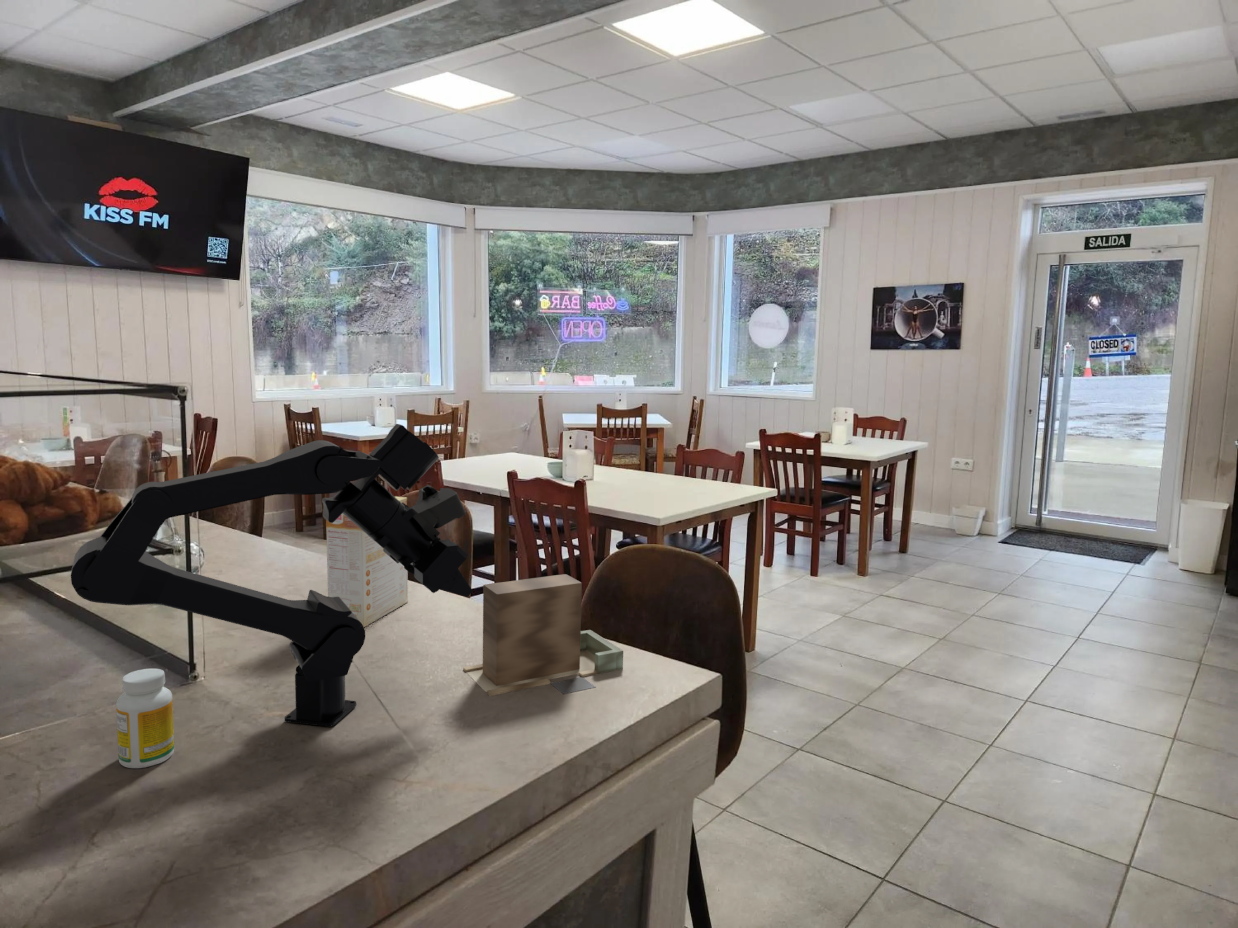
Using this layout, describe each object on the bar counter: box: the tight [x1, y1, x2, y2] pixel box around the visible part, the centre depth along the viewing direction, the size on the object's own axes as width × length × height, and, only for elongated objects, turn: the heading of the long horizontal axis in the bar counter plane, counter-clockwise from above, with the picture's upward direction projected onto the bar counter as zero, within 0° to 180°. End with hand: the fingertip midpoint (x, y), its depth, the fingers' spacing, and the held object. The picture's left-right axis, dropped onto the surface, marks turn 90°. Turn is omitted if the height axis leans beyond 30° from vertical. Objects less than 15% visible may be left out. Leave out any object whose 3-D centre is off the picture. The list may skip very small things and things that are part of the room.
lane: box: [462, 629, 624, 697], centre depth 117 cm, size 21×18×3 cm
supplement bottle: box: [115, 668, 175, 769], centre depth 89 cm, size 5×5×10 cm
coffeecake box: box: [325, 495, 409, 628], centre depth 139 cm, size 15×7×20 cm, turn 165°
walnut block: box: [482, 573, 583, 686], centre depth 116 cm, size 13×5×13 cm, turn 121°
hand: (465, 590), depth 110 cm, fingers open, 3 cm apart
